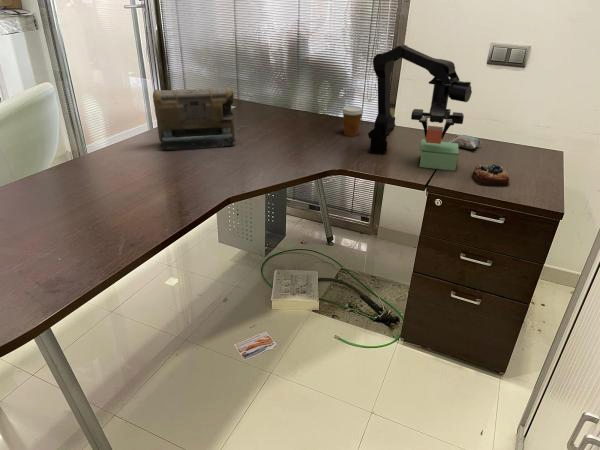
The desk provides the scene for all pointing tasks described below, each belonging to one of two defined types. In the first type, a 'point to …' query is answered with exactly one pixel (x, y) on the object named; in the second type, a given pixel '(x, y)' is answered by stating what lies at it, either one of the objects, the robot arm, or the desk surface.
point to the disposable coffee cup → (352, 120)
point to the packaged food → (466, 141)
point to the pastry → (490, 175)
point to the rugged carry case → (194, 118)
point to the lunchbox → (438, 160)
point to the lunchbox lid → (440, 147)
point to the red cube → (434, 134)
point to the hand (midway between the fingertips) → (433, 138)
